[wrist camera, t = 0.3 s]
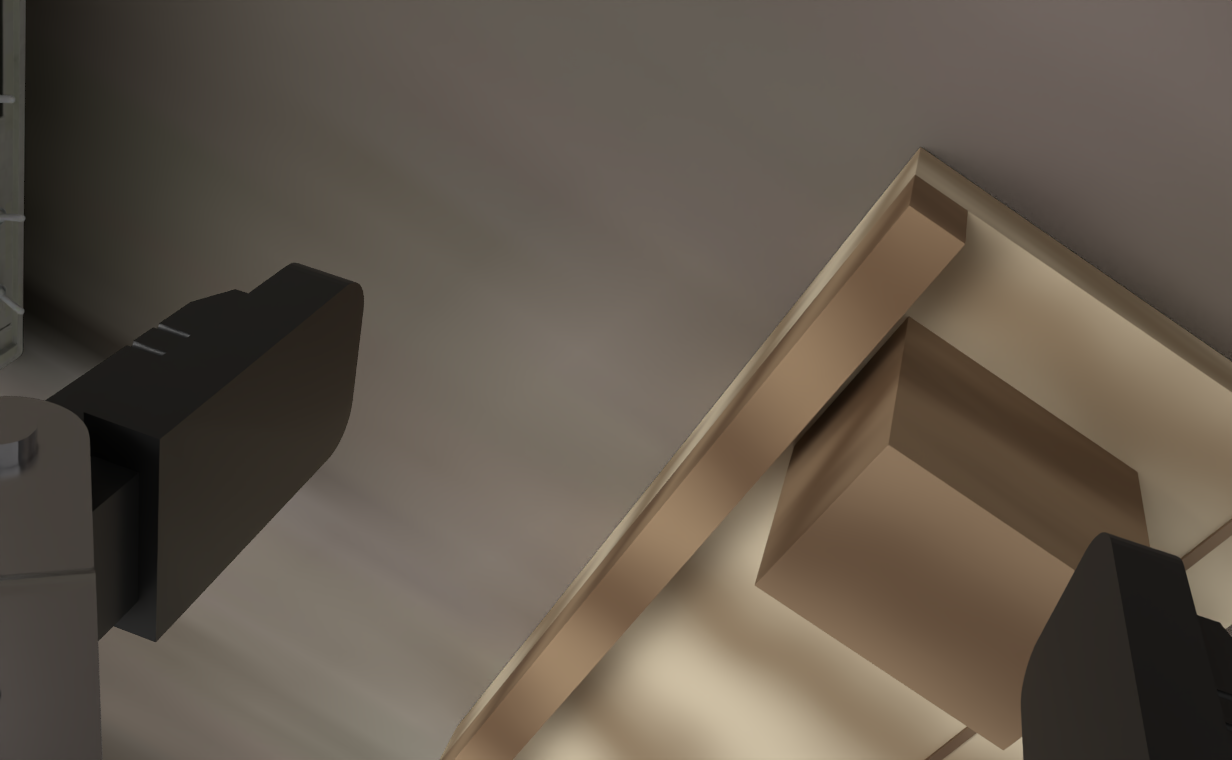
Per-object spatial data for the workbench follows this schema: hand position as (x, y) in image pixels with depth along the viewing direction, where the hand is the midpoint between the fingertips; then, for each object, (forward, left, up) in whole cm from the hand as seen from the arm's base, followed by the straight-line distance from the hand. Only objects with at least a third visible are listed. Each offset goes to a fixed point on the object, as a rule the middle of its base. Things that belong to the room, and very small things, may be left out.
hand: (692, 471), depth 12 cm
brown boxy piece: (+7, +10, -17) cm, 21 cm away
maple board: (+15, +10, -19) cm, 26 cm away
